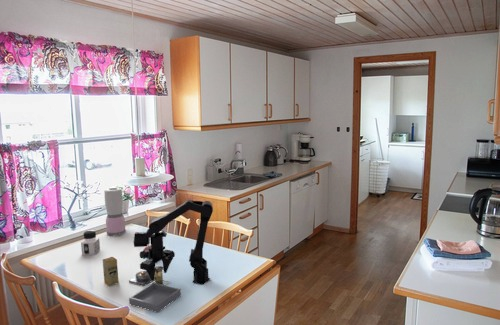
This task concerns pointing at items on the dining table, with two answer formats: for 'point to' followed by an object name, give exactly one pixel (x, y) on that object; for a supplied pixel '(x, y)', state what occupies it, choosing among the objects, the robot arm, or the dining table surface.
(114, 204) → the blender
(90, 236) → the container
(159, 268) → the gold cylinder with rim
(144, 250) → the cupcake
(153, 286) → the tray
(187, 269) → the dining table surface
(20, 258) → the dining table surface
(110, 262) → the shoe polish box
